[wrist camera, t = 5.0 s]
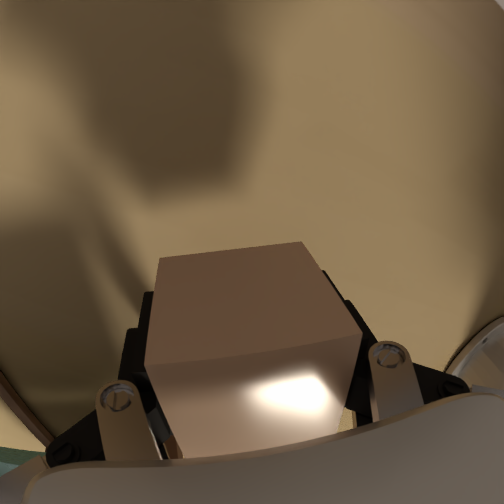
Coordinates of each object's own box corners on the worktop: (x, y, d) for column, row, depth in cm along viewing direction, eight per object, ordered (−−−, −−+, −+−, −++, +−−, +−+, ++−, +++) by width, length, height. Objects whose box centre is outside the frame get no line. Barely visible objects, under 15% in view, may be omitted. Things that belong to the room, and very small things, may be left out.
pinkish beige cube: (301, 241, 12) (362, 333, 7) (297, 344, 14) (334, 438, 9) (159, 258, 11) (144, 365, 7) (183, 360, 13) (187, 462, 9)
